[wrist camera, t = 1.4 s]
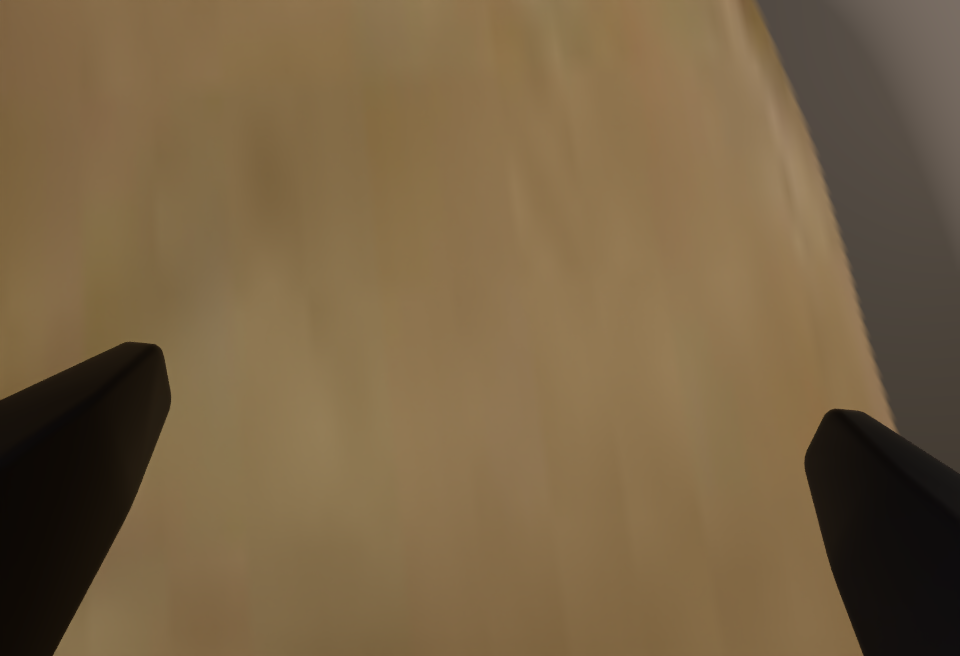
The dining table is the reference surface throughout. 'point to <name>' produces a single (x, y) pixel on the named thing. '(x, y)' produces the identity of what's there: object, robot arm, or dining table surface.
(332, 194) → the dining table surface
